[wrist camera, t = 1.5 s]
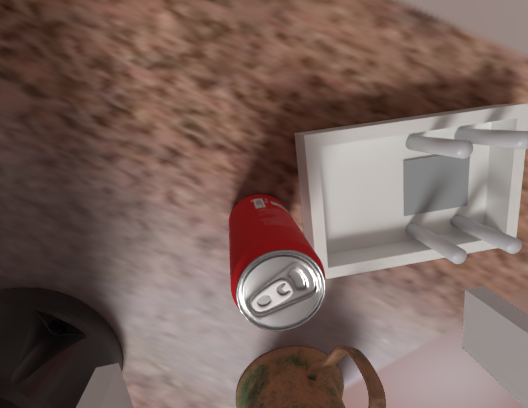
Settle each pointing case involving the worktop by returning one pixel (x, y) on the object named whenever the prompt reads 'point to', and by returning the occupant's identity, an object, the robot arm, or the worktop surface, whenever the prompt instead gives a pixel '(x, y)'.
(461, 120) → the tray
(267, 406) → the mug
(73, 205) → the worktop surface
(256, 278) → the beverage can
